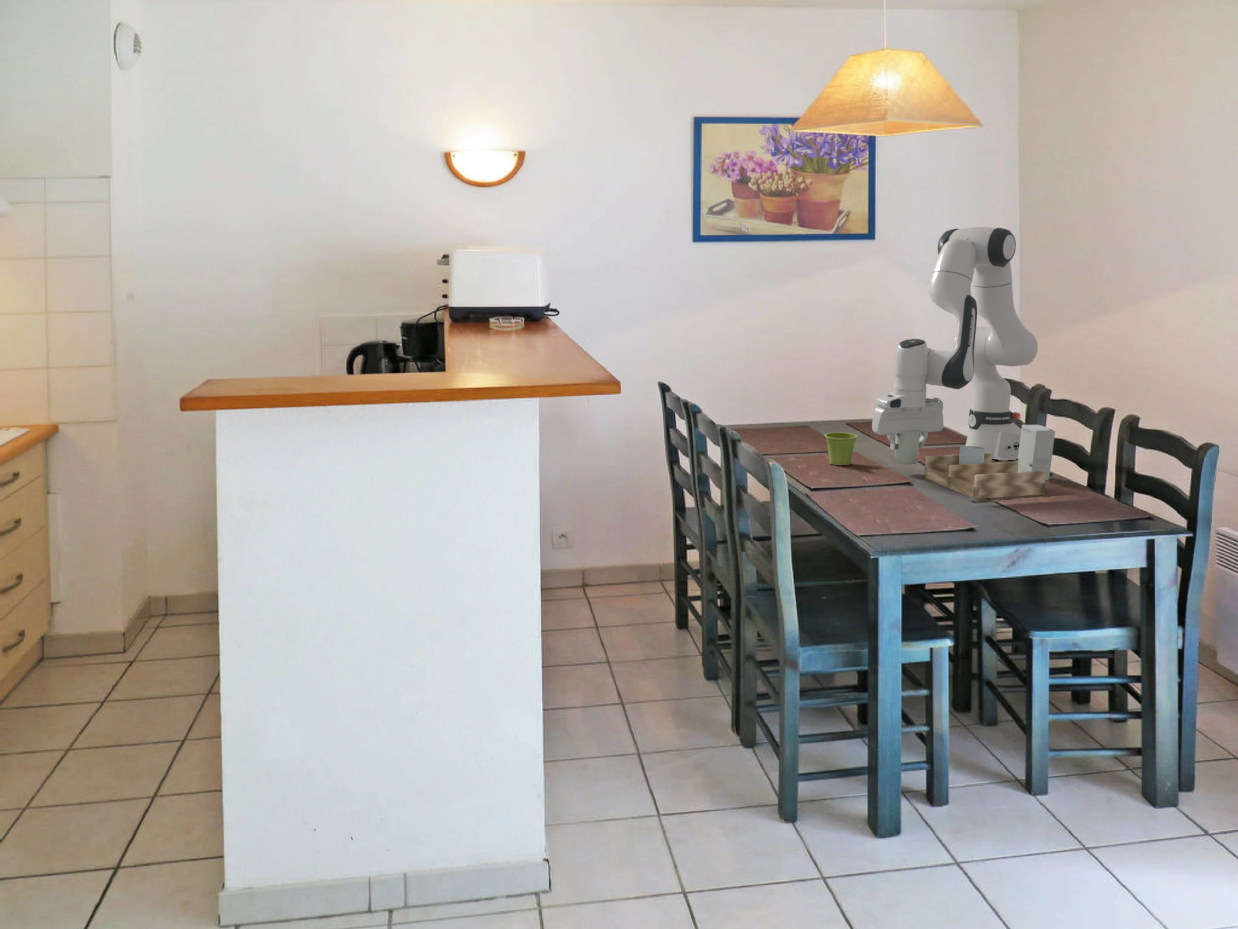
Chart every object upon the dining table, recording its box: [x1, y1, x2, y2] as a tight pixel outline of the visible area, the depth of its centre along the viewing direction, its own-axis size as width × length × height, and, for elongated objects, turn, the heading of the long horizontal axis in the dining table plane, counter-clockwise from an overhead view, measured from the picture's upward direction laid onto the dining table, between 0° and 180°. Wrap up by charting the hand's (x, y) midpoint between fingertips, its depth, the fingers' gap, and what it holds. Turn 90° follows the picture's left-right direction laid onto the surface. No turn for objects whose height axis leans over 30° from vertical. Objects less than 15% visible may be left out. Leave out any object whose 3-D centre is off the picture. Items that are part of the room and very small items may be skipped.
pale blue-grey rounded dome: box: [958, 445, 985, 465], centre depth 301 cm, size 6×6×9 cm
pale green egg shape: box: [894, 430, 921, 465], centre depth 308 cm, size 6×6×9 cm
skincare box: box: [1016, 424, 1056, 480], centre depth 307 cm, size 8×6×15 cm
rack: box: [924, 453, 1046, 504], centre depth 295 cm, size 20×25×7 cm
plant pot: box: [824, 432, 858, 466], centre depth 328 cm, size 9×9×9 cm
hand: (906, 448), depth 308 cm, fingers closed on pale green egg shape, 6 cm apart
